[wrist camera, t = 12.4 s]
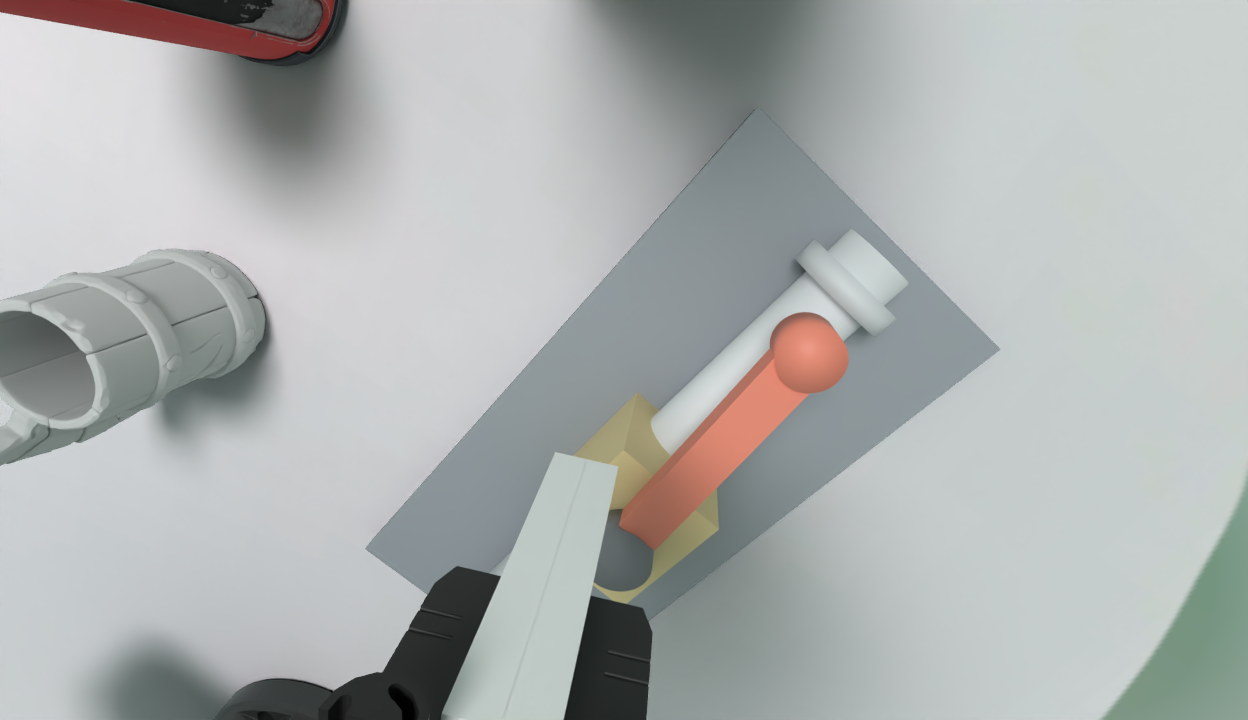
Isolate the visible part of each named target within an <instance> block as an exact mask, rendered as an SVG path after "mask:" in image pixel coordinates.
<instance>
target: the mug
mask: <svg viewBox="0 0 1248 720" xmlns="http://www.w3.org/2000/svg"><path fill="white" fill-rule="evenodd" d="M255 295H257V291H256V289H255V288H254V286H253V284H252V283H251V282H250V281H249V280H248V278H247V277H246V276H245V275H244V274H243V273H242V272H241V271H240V270H239V269H238V268H237V267H236V266H234V265H233V264H232V263H230V262H228V261H227V260H225V259H224V258H222V257H220V256H217V255H215V254H212V253H208V252H205V251H187V250H183V249H165V250H160V249H159V250H153V251H150V252H148V253H147V254H146V255H143V256H141V257H139V258H137V259H136V260H135V261H134V262H132V263H131V264H130V265H129V266H125V267H121V268H118V269H114V270H110V271H106V272H102V273H79V274H78V273H76V272H73V273H68V274H65V275H62V276H60V277H58V278H57V279H54V280H53V281H52V282H50V283H49V284H47V285H46V286H45V287H44V288H43V289H40V290H37V291H33V292H29V293H26V294H22V295H17V296H14V297H10V298H7V299H3V300H0V398H1V399H2V400H4V401H5V402H6V403H7V404H8V405H9V406H11V407H12V408H13V409H14V410H13V412H12V414H11V417H10V420H9V421H8V422H7V423H6V424H5V425H3V426H1V427H0V466H1V465H3V464H5V463H6V464H10V463H13V462H16V461H18V460H22V459H25V458H29V457H32V456H36V455H39V454H43V453H47V452H51V451H52V450H54V449H58V448H61V447H64V446H67V445H70V444H71V443H72V442H77V443H81V442H83V441H86V440H88V439H90V438H92V437H94V436H96V435H98V434H100V433H102V432H104V431H106V430H108V429H109V428H111V427H113V426H115V425H116V424H118V423H119V422H121V421H123V420H125V419H127V418H129V417H130V416H132V415H134V414H136V413H137V412H139V411H140V410H143V409H146V408H149V407H151V406H153V405H155V403H157V402H158V401H160V400H161V399H163V398H164V397H165V396H166V395H167V393H169V392H170V391H172V390H175V389H177V388H179V387H181V386H183V385H185V384H187V383H190V382H192V381H195V380H197V379H204V378H211V379H215V378H219V377H221V376H223V375H224V374H226V373H229V372H231V371H233V370H234V369H236V368H238V367H239V366H240V365H241V364H242V363H244V362H245V361H246V359H247V358H248V357H249V356H250V355H251V354H252V353H253V352H254V351H255V350H256V349H257V348H256V346H257V345H258V343H259V342H260V341H261V340H262V339H263V335H264V328H265V313H264V309H263V306H262V303H261V301H260V300H259V299H256V298H255V297H253V296H255Z"/></svg>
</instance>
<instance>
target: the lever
mask: <svg viewBox="0 0 1248 720" xmlns="http://www.w3.org/2000/svg"><path fill="white" fill-rule="evenodd" d="M848 361H849V356H848V350H847V347H846V345H845V343H844V342H843V340H842V339H841V338H840V336H839V335H838V333H837V332H836V330H835V329H834V328H833V326H832V325H831V324H830V322H829V321H828V320H827V319H825V318H824V317H822V316H820V315H818V314H815V313H811V312H800V313H795V314H792V315H790V316H788V317H786V318H784V319H783V320H782V321H780V322H779V323H778V324H777V326H776V327H775V328H774V330H773V332H772V334H771V338H770V349H769V350H768V351H767V352H766V353H765V354H764V355H763V356H762V357H761V358H760V360H759V361H758V362H757V363H756V364H755V365H754V366H753V367H752V368H751V369H750V371H749V372H748V373H747V374H746V375H745V376H744V377H743V378H742V379H741V380H740V381H739V383H738V384H737V385H736V386H735V387H734V388H733V389H732V390H731V391H730V392H729V394H728V395H727V396H726V397H725V398H724V399H723V400H722V401H721V402H720V403H719V404H718V406H717V407H716V408H715V409H714V410H713V411H712V412H711V413H710V414H709V415H708V417H707V418H706V419H705V420H704V421H703V422H702V423H701V424H700V425H699V426H698V428H697V429H696V430H695V431H694V432H693V433H692V434H691V435H690V436H689V437H688V438H687V440H686V441H685V442H684V443H683V444H682V445H681V446H680V447H679V448H678V449H677V451H676V452H675V453H674V454H673V455H672V456H671V457H670V458H669V459H668V460H667V461H666V463H665V464H664V465H663V466H662V467H661V468H660V469H659V470H658V471H657V472H656V474H655V475H654V476H653V477H652V478H651V479H650V480H649V481H648V482H647V483H646V484H645V486H644V487H643V488H642V489H641V490H640V491H639V492H638V493H637V494H636V495H635V497H634V498H633V499H632V500H631V501H630V502H629V503H628V504H627V505H626V506H625V507H624V509H623V510H621V509H616V510H610V511H609V513H608V517H607V522H606V526H605V531H604V536H603V540H602V545H601V549H600V554H599V559H598V563H597V568H596V573H595V577H594V583H595V584H597V585H598V586H600V587H602V588H605V589H607V590H611V591H618V592H623V591H630V590H634V589H636V588H638V587H640V586H642V585H643V584H644V583H645V582H646V581H647V580H648V578H649V577H650V575H651V572H652V565H653V556H654V550H656V549H657V548H658V547H659V546H660V545H661V544H662V543H663V542H664V541H665V540H666V539H667V538H668V537H669V536H670V535H671V534H672V533H673V532H674V531H675V530H676V529H677V528H678V527H679V526H680V525H681V524H682V523H683V522H684V521H685V520H686V519H687V518H688V517H689V516H690V515H691V514H692V513H693V512H694V511H695V510H696V509H697V508H698V507H699V506H700V504H701V503H702V502H703V501H704V500H705V499H706V498H707V497H708V496H709V495H710V494H711V493H712V492H713V491H714V490H715V489H716V488H717V487H718V486H719V485H720V484H721V483H722V482H723V481H724V480H725V479H726V478H727V477H728V476H729V475H730V474H731V473H732V472H733V471H734V470H735V469H736V468H737V467H738V466H739V465H740V464H741V463H742V462H743V461H744V460H745V459H746V458H747V457H748V456H749V455H750V454H751V453H752V452H753V451H754V450H755V449H756V448H757V447H758V446H759V445H760V444H761V443H762V442H763V440H764V439H765V438H766V437H767V436H768V435H769V434H770V433H771V432H772V431H773V430H774V429H775V428H776V427H777V426H778V425H779V424H780V423H781V422H782V421H783V420H784V419H785V418H786V417H787V416H788V415H789V414H790V413H791V412H792V411H793V410H794V409H795V408H796V407H797V406H798V405H799V404H800V403H801V402H802V401H803V400H804V399H805V398H806V397H807V396H808V395H809V394H810V393H818V392H822V391H825V390H827V389H829V388H831V387H832V386H834V385H835V384H836V383H837V382H839V380H840V379H841V378H842V377H843V375H844V374H845V372H846V369H847V366H848Z"/></svg>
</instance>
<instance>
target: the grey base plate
mask: <svg viewBox="0 0 1248 720" xmlns="http://www.w3.org/2000/svg"><path fill="white" fill-rule="evenodd" d="M800 312H811V313H815V314H818V315H820V316H822V317H824V318H825V319H827V320H828V321H829V322H830V324H831V325H832V326H833V328H834V329H835V330H836V332H837V333H838V335H839V336H840V338H841V339H842V340H843V342H844V343H845V345H846V347H847V350H848V356H849V361H848V366H847V369H846V372H845V374H844V375H843V377H842V378H841V379H840V380H839V382H837V383H836V384H835V385H834V386H832V387H831V388H829V389H827V390H825V391H822V392H818V393H810V394H809V395H808V396H807V397H806V398H805V399H804V400H803V401H802V402H801V403H800V404H799V405H798V406H797V407H796V408H795V409H794V410H793V411H792V412H791V413H790V414H789V415H788V416H787V417H786V418H785V419H784V420H783V421H782V422H781V423H780V424H779V425H778V426H777V427H776V428H775V429H774V430H773V431H772V432H771V433H770V434H769V435H768V436H767V437H766V438H765V439H764V440H763V442H762V443H761V444H760V445H759V446H758V447H757V448H756V449H755V450H754V451H753V452H752V453H751V454H750V455H749V456H748V457H747V458H746V459H745V460H744V461H743V462H742V463H741V464H740V465H739V466H738V467H737V468H736V469H735V470H734V471H733V472H732V473H731V474H730V475H729V476H728V477H727V478H726V479H725V480H724V481H723V482H722V483H721V484H720V485H719V486H718V487H717V488H716V489H715V490H714V491H713V492H712V493H711V494H710V495H709V496H708V497H707V498H706V499H705V500H704V501H703V502H702V503H701V504H700V506H699V507H698V508H697V509H696V510H695V511H694V512H693V513H692V514H691V515H690V516H689V517H688V518H687V519H686V520H685V521H684V522H683V523H682V524H681V525H680V526H679V527H678V528H677V529H676V530H675V531H674V532H673V533H672V534H671V535H670V536H669V537H668V538H667V539H666V540H665V541H664V542H663V543H662V544H661V545H660V546H659V547H658V548H657V549H656V550H654V556H653V565H652V572H651V575H650V577H649V578H648V580H647V581H646V582H645V583H644V584H643V585H642V586H640V587H638V588H636V589H634V590H630V591H623V592H618V591H611V590H607V589H605V588H602V587H600V586H598V585H597V584H595V583H594V582H593V586H592V591H591V596H595V597H599V598H603V599H608V600H612V601H616V602H620V603H625V604H629V605H633V606H637V607H641V608H643V609H644V612H645V614H646V617H647V620H648V621H649V620H650V619H651V618H653V617H654V616H655V615H657V614H658V613H659V612H661V611H662V610H663V609H664V608H666V607H667V606H668V605H670V604H671V603H672V602H674V601H675V600H676V599H677V598H679V597H680V596H681V595H683V594H684V593H685V592H686V591H688V590H689V589H690V588H692V587H693V586H694V585H696V584H697V583H698V582H699V581H701V580H702V579H703V578H705V577H706V576H707V575H709V574H710V573H711V572H712V571H714V570H715V569H716V568H718V567H719V566H720V565H721V564H723V563H724V562H725V561H727V560H728V559H729V558H731V557H732V556H733V555H734V554H736V553H737V552H738V551H740V550H741V549H742V548H744V547H745V546H746V545H747V544H749V543H750V542H751V541H753V540H754V539H755V538H757V537H758V536H759V535H760V534H762V533H763V532H764V531H766V530H767V529H768V528H769V527H771V526H772V525H773V524H775V523H776V522H777V521H779V520H780V519H781V518H782V517H784V516H785V515H786V514H788V513H789V512H790V511H792V510H793V509H794V508H795V507H797V506H798V505H799V504H801V503H802V502H803V501H805V500H806V499H807V498H808V497H810V496H811V495H812V494H814V493H815V492H816V491H817V490H819V489H820V488H821V487H823V486H824V485H825V484H827V483H828V482H829V481H830V480H832V479H833V478H834V477H836V476H837V475H838V474H840V473H841V472H842V471H843V470H845V469H846V468H847V467H849V466H850V465H851V464H852V463H854V462H855V461H856V460H858V459H859V458H860V457H862V456H863V455H864V454H865V453H867V452H868V451H869V450H871V449H872V448H873V447H875V446H876V445H877V444H878V443H880V442H881V441H882V440H884V439H885V438H886V437H888V436H889V435H890V434H891V433H893V432H894V431H895V430H897V429H898V428H899V427H900V426H902V425H903V424H904V423H906V422H907V421H908V420H910V419H911V418H912V417H913V416H915V415H916V414H917V413H919V412H920V411H921V410H923V409H924V408H925V407H926V406H928V405H929V404H930V403H932V402H933V401H934V400H936V399H937V398H938V397H939V396H941V395H942V394H943V393H945V392H946V391H947V390H948V389H950V388H951V387H952V386H954V385H955V384H956V383H958V382H959V381H960V380H961V379H963V378H964V377H965V376H967V375H968V374H969V373H971V372H972V371H973V370H974V369H976V368H977V367H978V366H980V365H981V364H982V363H983V362H985V361H986V360H987V359H989V358H990V357H991V356H993V355H994V354H995V353H996V352H998V351H999V350H1000V348H999V347H998V346H997V345H996V344H995V343H994V342H993V341H992V340H991V339H990V338H989V337H988V336H987V335H986V334H985V333H984V332H983V331H982V330H981V329H980V328H979V327H978V326H977V325H976V324H975V323H974V322H973V321H972V320H971V319H970V318H969V317H968V316H967V315H966V314H965V313H964V312H963V311H962V310H961V309H960V308H959V307H958V306H957V305H956V304H955V303H954V302H953V301H952V300H951V299H950V298H949V297H948V296H947V295H946V294H945V293H944V292H943V291H942V290H941V289H940V288H939V287H938V286H937V285H936V284H935V283H934V282H933V281H932V280H931V279H930V278H929V277H928V276H927V275H926V274H925V273H924V272H923V271H922V270H921V269H920V268H919V267H918V266H917V265H916V264H915V263H914V262H913V261H912V260H911V259H910V258H909V257H908V256H907V255H906V254H905V253H904V252H903V251H902V250H901V249H900V248H899V247H898V246H897V245H896V244H895V243H894V242H893V241H892V240H891V239H890V238H889V237H888V236H887V235H886V234H885V233H884V232H883V231H882V230H881V229H880V228H879V227H878V226H877V225H876V224H875V223H874V222H873V221H872V220H871V219H870V218H869V217H868V216H867V215H866V214H865V213H864V212H863V211H862V210H861V209H860V208H859V207H858V206H857V205H856V204H855V203H854V202H853V201H852V200H851V199H850V198H849V197H848V196H847V195H846V194H845V193H844V192H843V191H842V190H841V189H840V188H839V187H838V186H837V185H836V184H835V183H834V182H833V181H832V180H831V179H830V178H829V177H828V176H827V175H826V174H825V173H824V172H823V171H822V170H821V169H820V168H819V167H818V166H817V165H816V164H815V163H814V162H813V161H812V160H811V159H810V158H809V157H808V156H807V155H806V154H805V153H804V152H803V151H802V150H801V149H800V148H799V147H798V146H797V145H796V144H795V143H794V142H793V141H792V140H791V139H790V138H789V137H788V135H787V134H786V133H785V132H784V131H783V130H782V129H781V128H780V127H779V126H778V125H777V124H776V123H775V122H774V121H773V120H772V119H771V118H770V117H769V116H768V115H767V114H766V113H765V112H764V111H763V110H762V109H761V108H760V107H757V108H756V109H755V110H754V111H753V112H752V113H751V114H750V115H749V116H748V118H747V119H746V120H745V121H744V122H743V123H742V124H741V125H740V127H739V128H738V129H737V130H736V131H735V132H734V133H733V134H732V136H731V137H730V138H729V139H728V140H727V141H726V142H725V143H724V145H723V146H722V147H721V148H720V149H719V150H718V151H717V152H716V154H715V155H714V156H713V157H712V158H711V159H710V160H709V161H708V163H707V164H706V165H705V166H704V167H703V168H702V169H701V170H700V172H699V173H698V174H697V175H696V176H695V177H694V178H693V179H692V181H691V182H690V183H689V184H688V185H687V186H686V187H685V188H684V190H683V191H682V192H681V193H680V194H679V195H678V196H677V197H676V199H675V200H674V201H673V202H672V203H671V204H670V205H669V206H668V208H667V209H666V210H665V211H664V212H663V213H662V214H661V215H660V217H659V218H658V219H657V220H656V221H655V222H654V223H653V224H652V226H651V227H650V228H649V229H648V230H647V231H646V232H645V233H644V235H643V236H642V237H641V238H640V239H639V240H638V241H637V242H636V244H635V245H634V246H633V247H632V248H631V249H630V250H629V251H628V253H627V254H626V255H625V256H624V257H623V258H622V259H621V260H620V262H619V263H618V264H617V265H616V266H615V267H614V268H613V269H612V271H611V272H610V273H609V274H608V275H607V276H606V277H605V278H604V280H603V281H602V282H601V283H600V284H599V285H598V286H597V287H596V289H595V290H594V291H593V292H592V293H591V294H590V295H589V296H588V298H587V299H586V300H585V301H584V302H583V303H582V304H581V305H580V307H579V308H578V309H577V310H576V311H575V312H574V313H573V314H572V316H571V317H570V318H569V319H568V320H567V321H566V322H565V323H564V325H563V326H562V327H561V328H560V329H559V330H558V331H557V332H556V334H555V335H554V336H553V337H552V338H551V339H550V340H549V341H548V343H547V344H546V345H545V346H544V347H543V348H542V349H541V350H540V352H539V353H538V354H537V355H536V356H535V357H534V358H533V359H532V361H531V362H530V363H529V364H528V365H527V366H526V367H525V368H524V370H523V371H522V372H521V373H520V374H519V375H518V376H517V377H516V379H515V380H514V381H513V382H512V383H511V384H510V385H509V386H508V388H507V389H506V390H505V391H504V392H503V393H502V394H501V395H500V397H499V398H498V399H497V400H496V401H495V402H494V403H493V404H492V406H491V407H490V408H489V409H488V410H487V411H486V412H485V413H484V415H483V416H482V417H481V418H480V419H479V420H478V421H477V422H476V424H475V425H474V426H473V427H472V428H471V429H470V430H469V431H468V433H467V434H466V435H465V436H464V437H463V438H462V439H461V440H460V442H459V443H458V444H457V445H456V446H455V447H454V448H453V449H452V451H451V452H450V453H449V454H448V455H447V456H446V457H445V458H444V460H443V461H442V462H441V463H440V464H439V465H438V466H437V467H436V469H435V470H434V471H433V472H432V473H431V474H430V475H429V476H428V478H427V479H426V480H425V481H424V482H423V483H422V484H421V485H420V487H419V488H418V489H417V490H416V491H415V492H414V493H413V494H412V496H411V497H410V498H409V499H408V500H407V501H406V502H405V503H404V505H403V506H402V507H401V508H400V509H399V510H398V511H397V512H396V514H395V515H394V516H393V517H392V518H391V519H390V520H389V521H388V523H387V524H386V525H385V526H384V527H383V528H382V529H381V531H380V532H379V533H378V534H377V535H376V536H375V537H374V538H373V540H372V541H371V542H370V543H369V545H368V546H367V547H366V548H365V549H366V550H367V551H369V552H370V553H371V554H373V555H374V556H376V557H377V558H378V559H380V560H381V561H382V562H384V563H385V564H386V565H388V566H389V567H391V568H392V569H393V570H395V571H396V572H397V573H399V574H400V575H401V576H403V577H404V578H406V579H407V580H408V581H410V582H411V583H412V584H414V585H415V586H417V587H418V588H419V589H421V590H422V591H423V592H425V593H426V594H427V595H428V593H429V592H430V590H431V588H432V586H433V585H434V583H435V582H436V581H438V580H439V579H440V578H442V577H443V576H444V575H445V574H447V573H448V572H449V571H451V570H452V569H453V568H455V567H456V566H460V567H464V568H469V569H473V570H477V571H481V572H486V573H490V574H494V575H498V576H502V573H503V571H504V569H505V567H506V564H507V562H508V560H509V557H510V555H511V553H512V550H513V548H514V546H515V544H516V541H517V539H518V537H519V534H520V532H521V530H522V527H523V525H524V523H525V521H526V518H527V516H528V514H529V511H530V509H531V507H532V504H533V502H534V500H535V498H536V495H537V493H538V491H539V488H540V486H541V484H542V481H543V479H544V477H545V475H546V472H547V470H548V468H549V465H550V463H551V461H552V458H553V456H554V454H555V452H557V453H562V454H566V455H571V456H575V457H579V458H584V459H588V460H592V461H597V462H601V463H605V464H610V465H614V466H618V471H617V476H616V480H615V485H614V490H613V494H612V499H611V503H610V508H609V511H610V510H616V509H621V510H623V509H624V507H625V506H626V505H627V504H628V503H629V502H630V501H631V500H632V499H633V498H634V497H635V495H636V494H637V493H638V492H639V491H640V490H641V489H642V488H643V487H644V486H645V484H646V483H647V482H648V481H649V480H650V479H651V478H652V477H653V476H654V475H655V474H656V472H657V471H658V470H659V469H660V468H661V467H662V466H663V465H664V464H665V463H666V461H667V460H668V459H669V458H670V457H671V456H672V455H673V454H674V453H675V452H676V451H677V449H678V448H679V447H680V446H681V445H682V444H683V443H684V442H685V441H686V440H687V438H688V437H689V436H690V435H691V434H692V433H693V432H694V431H695V430H696V429H697V428H698V426H699V425H700V424H701V423H702V422H703V421H704V420H705V419H706V418H707V417H708V415H709V414H710V413H711V412H712V411H713V410H714V409H715V408H716V407H717V406H718V404H719V403H720V402H721V401H722V400H723V399H724V398H725V397H726V396H727V395H728V394H729V392H730V391H731V390H732V389H733V388H734V387H735V386H736V385H737V384H738V383H739V381H740V380H741V379H742V378H743V377H744V376H745V375H746V374H747V373H748V372H749V371H750V369H751V368H752V367H753V366H754V365H755V364H756V363H757V362H758V361H759V360H760V358H761V357H762V356H763V355H764V354H765V353H766V352H767V351H768V350H769V349H770V338H771V334H772V332H773V330H774V328H775V327H776V326H777V324H778V323H779V322H780V321H782V320H783V319H784V318H786V317H788V316H790V315H792V314H795V313H800Z"/></svg>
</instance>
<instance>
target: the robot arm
mask: <svg viewBox="0 0 1248 720" xmlns="http://www.w3.org/2000/svg"><path fill="white" fill-rule="evenodd" d="M617 471H618V466H614V465H610V464H605V463H601V462H597V461H592V460H588V459H584V458H579V457H575V456H571V455H566V454H562V453H557V452H555V454H554V456H553V458H552V461H551V463H550V465H549V468H548V470H547V472H546V475H545V477H544V479H543V481H542V484H541V486H540V488H539V491H538V493H537V495H536V498H535V500H534V502H533V504H532V507H531V509H530V511H529V514H528V516H527V518H526V521H525V523H524V525H523V527H522V530H521V532H520V534H519V537H518V539H517V541H516V544H515V546H514V548H513V550H512V553H511V555H510V557H509V560H508V562H507V564H506V567H505V569H504V571H503V573H502V576H498V575H494V574H490V573H486V572H481V571H477V570H473V569H469V568H464V567H460V566H456V567H455V568H453V569H452V570H451V571H449V572H448V573H447V574H445V575H444V576H443V577H442V578H440V579H439V580H438V581H436V582H435V583H434V585H433V586H432V588H431V590H430V592H429V593H428V595H427V597H426V598H425V600H424V602H423V604H422V605H421V608H420V611H418V612H417V614H416V616H415V617H414V619H413V621H412V623H411V624H410V626H409V630H408V631H406V633H405V635H404V636H403V638H402V640H401V641H400V643H399V645H398V647H397V648H396V650H395V652H394V654H393V655H392V657H391V659H390V660H389V662H388V664H387V666H386V667H385V669H384V671H383V672H382V673H379V672H376V673H373V674H369V675H365V676H361V677H357V678H354V679H353V680H351V681H349V682H348V683H346V684H344V685H343V686H341V687H339V688H338V689H336V690H334V691H333V693H332V692H330V691H327V690H325V689H322V688H320V687H317V686H314V685H310V684H306V683H302V682H297V681H290V680H266V681H260V682H256V683H252V684H250V685H247V686H245V687H243V688H242V689H240V690H239V691H238V692H236V693H235V694H234V695H233V696H232V697H231V699H230V700H229V701H228V702H227V703H226V705H225V706H224V707H223V708H222V710H221V711H220V712H219V713H218V714H217V716H216V717H215V718H214V719H213V720H646V714H647V701H648V683H649V673H650V659H651V646H652V630H651V628H650V625H649V622H648V620H647V617H646V614H645V612H644V609H643V608H641V607H637V606H633V605H629V604H625V603H620V602H616V601H612V600H608V599H603V598H599V597H595V596H591V591H592V586H593V582H594V577H595V573H596V568H597V563H598V559H599V554H600V549H601V545H602V540H603V536H604V531H605V526H606V522H607V517H608V513H609V508H610V503H611V499H612V494H613V490H614V485H615V480H616V476H617Z"/></svg>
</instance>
